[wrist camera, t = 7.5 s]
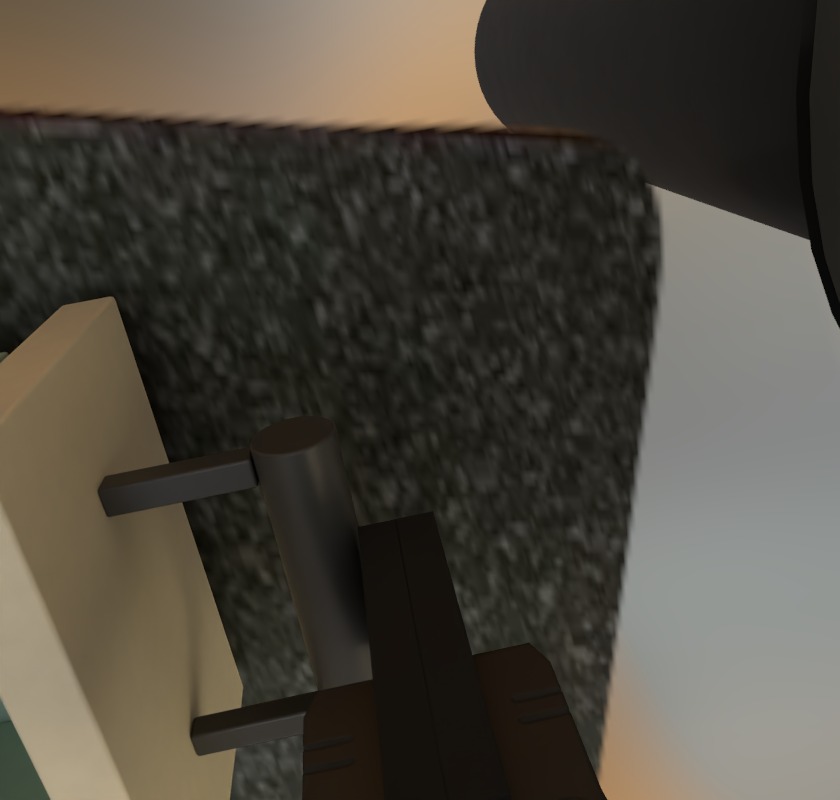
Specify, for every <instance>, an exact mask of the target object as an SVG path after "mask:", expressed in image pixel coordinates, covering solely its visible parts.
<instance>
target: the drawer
mask: <svg viewBox="0 0 840 800" xmlns="http://www.w3.org/2000/svg"><path fill="white" fill-rule="evenodd" d="M258 480H259V483H260V486H261V490H262V493H263V497H264V500H265V504H266V507H267V511H268V514H269V518H270V521H271V525H272V529H273V532H274V536H275V539H276V543H277V546H278V550H279V553H280V557H281V560H282V564H283V568H284V571H285V575H286V578H287V582H288V585H289V589H290V592H291V596H292V599H293V603H294V607H295V610H296V614H297V617H298V621H299V624H300V628H301V631H302V635H303V638H304V642H305V646H306V649H307V653H308V656H309V660H310V663H311V667H312V670H313V674H314V677H315V681H316V684H317V688H318V691H321V690H325V689H330V688H334V687H339V686H343V685H348V684H353V683H357V682H362V681H366V680H371V679H373V678H372V668H371V658H370V648H369V638H368V628H367V618H366V608H365V598H364V588H363V578H362V568H361V558H360V548H359V538H358V528H357V527H359V526H358V522H357V518H356V514H355V509H354V505H353V501H352V496H351V492H350V488H349V483H348V479H347V475H346V470H345V466H344V462H343V457H342V453H341V449H340V444H339V440H338V436H337V431H336V427H335V425H334V423H333V422H332V421H331V420H329V419H327V418H325V417H320V416H301V417H295V418H290V419H286V420H283V421H280V422H277V423H274V424H272V425H270V426H268V427H266V428H264V429H263V430H261V431H260V432H258V433H257V434H256V435H255V436H254V437H253V438H252V440H251V442H250V447H247V448H242V449H237V450H232V451H227V452H222V453H217V454H212V455H207V456H202V457H198V458H193V459H188V460H183V461H178V462H173V463H169V461H168V458H167V455H166V452H165V449H164V446H163V443H162V440H161V437H160V434H159V431H158V428H157V425H156V422H155V419H154V416H153V413H152V410H151V407H150V404H149V401H148V398H147V395H146V392H145V389H144V385H143V382H142V379H141V376H140V373H139V370H138V367H137V364H136V361H135V358H134V355H133V352H132V349H131V346H130V343H129V340H128V337H127V334H126V331H125V328H124V325H123V322H122V319H121V316H120V313H119V310H118V307H117V304H116V301H115V299H114V297H105V298H99V299H94V300H89V301H84V302H78V303H73V304H68V305H63V306H62V307H60V308H59V309H58V310H57V311H56V312H55V313H54V314H53V315H52V316H51V317H50V318H48V319H47V320H46V321H45V322H44V323H43V324H42V325H41V326H40V327H39V328H38V329H37V330H36V331H34V332H33V333H32V334H31V335H30V336H29V337H28V338H27V339H26V340H25V341H24V342H23V343H21V344H20V345H19V346H18V347H17V348H16V349H15V350H14V351H13V352H12V353H11V354H10V355H9V354H8V353H7V352H1V353H0V800H230V792H231V784H232V776H233V768H234V759H235V751H236V748H240V747H245V746H249V745H254V744H258V743H263V742H268V741H272V740H277V739H281V738H286V737H291V736H295V735H300V734H303V718H304V716H305V714H306V712H307V710H308V708H309V706H310V704H311V702H312V700H313V697H314V695H315V693H316V691H315V692H311V693H306V694H301V695H297V696H292V697H287V698H283V699H278V700H273V701H269V702H264V703H259V704H255V705H250V706H245V707H241V702H242V694H243V685H242V682H241V679H240V676H239V673H238V670H237V667H236V664H235V661H234V658H233V655H232V652H231V649H230V646H229V643H228V640H227V637H226V634H225V631H224V628H223V625H222V622H221V619H220V615H219V612H218V609H217V606H216V603H215V600H214V597H213V594H212V591H211V588H210V585H209V582H208V579H207V576H206V573H205V570H204V567H203V564H202V561H201V558H200V555H199V552H198V549H197V546H196V543H195V540H194V537H193V534H192V531H191V528H190V525H189V522H188V519H187V516H186V513H185V510H184V507H183V504H182V502H186V501H191V500H196V499H201V498H206V497H211V496H216V495H221V494H226V493H231V492H236V491H241V490H245V489H250V488H255V487H257V486H258Z"/></svg>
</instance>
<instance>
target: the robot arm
mask: <svg viewBox="0 0 840 800" xmlns="http://www.w3.org/2000/svg"><path fill="white" fill-rule="evenodd" d="M357 528H358V538H359V548H360V558H361V568H362V578H363V588H364V598H365V608H366V618H367V628H368V638H369V648H370V658H371V668H372V678H373V679H371V680H366V681H362V682H357V683H353V684H348V685H343V686H339V687H334V688H330V689H325V690H321V691H316V693H315V695H314V697H313V700H312V702H311V704H310V706H309V708H308V710H307V712H306V714H305V716H304V718H303V748H304V752H303V774H304V775H303V792H302V800H607V798H606V797H605V795H604V793H603V791H602V789H601V787H600V785H599V782H598V780H597V777H596V775H595V772H594V770H593V767H592V765H591V762H590V760H589V757H588V755H587V752H586V750H585V747H584V745H583V742H582V740H581V737H580V735H579V732H578V730H577V727H576V725H575V722H574V720H573V718H572V715H571V713H570V712H569V708H568V705H567V703H566V700H565V698H564V695H563V693H562V692H561V689H560V685H559V683H558V680H557V678H556V675H555V673H554V670H553V668H552V665H551V663H550V661H549V660H548V659H546V658H545V657H544V656H543V655H542V654H541V653H540V652H539V651H538V650H536V649H535V648H534V647H533V646H532V645H531V644H530V643H526V644H521V645H517V646H512V647H508V648H503V649H499V650H494V651H489V652H485V653H480V654H476V655H472V652H471V649H470V645H469V641H468V638H467V634H466V630H465V627H464V623H463V619H462V616H461V612H460V608H459V605H458V601H457V597H456V594H455V590H454V586H453V583H452V579H451V576H450V572H449V568H448V565H447V561H446V557H445V554H444V550H443V546H442V543H441V539H440V535H439V532H438V528H437V524H436V521H435V517H434V513H433V512H428V513H423V514H419V515H414V516H409V517H404V518H399V519H395V520H390V521H385V522H380V523H375V524H371V525H366V526H361V527H357Z"/></svg>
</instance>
